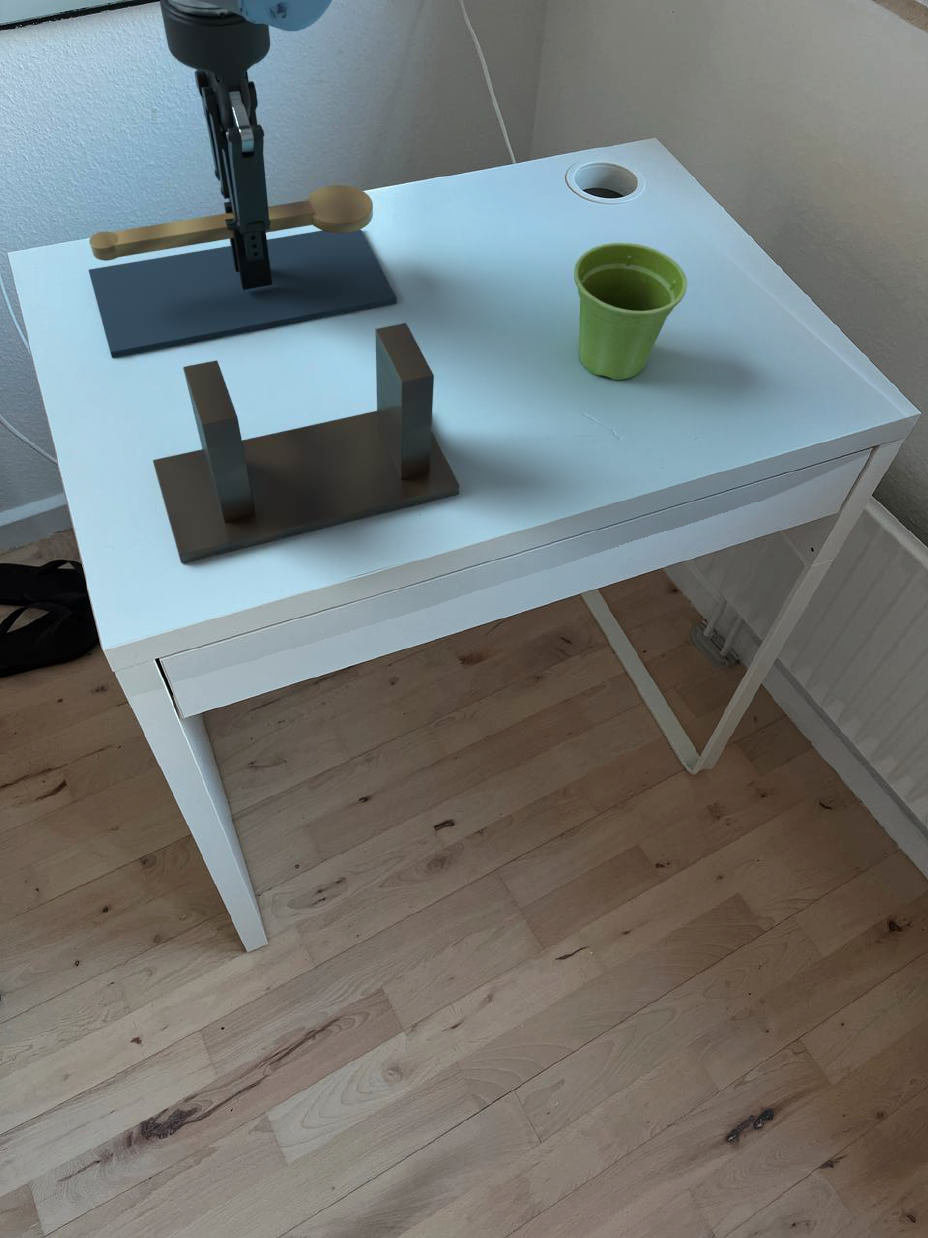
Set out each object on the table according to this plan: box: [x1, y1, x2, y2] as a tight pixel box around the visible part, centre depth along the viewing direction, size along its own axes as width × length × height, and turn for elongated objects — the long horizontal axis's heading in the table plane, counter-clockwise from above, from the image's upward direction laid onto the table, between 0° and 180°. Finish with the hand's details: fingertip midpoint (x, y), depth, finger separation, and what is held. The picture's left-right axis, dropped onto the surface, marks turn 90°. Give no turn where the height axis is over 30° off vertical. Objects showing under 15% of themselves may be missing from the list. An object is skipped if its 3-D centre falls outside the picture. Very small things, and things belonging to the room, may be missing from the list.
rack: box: [152, 322, 461, 564], centre depth 70 cm, size 22×10×11 cm, turn 111°
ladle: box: [89, 184, 374, 262], centre depth 82 cm, size 25×6×1 cm, turn 111°
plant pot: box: [573, 242, 688, 381], centre depth 81 cm, size 9×9×9 cm
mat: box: [88, 229, 398, 358], centre depth 87 cm, size 26×12×1 cm, turn 111°
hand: (253, 275), depth 87 cm, fingers closed on ladle, 2 cm apart
